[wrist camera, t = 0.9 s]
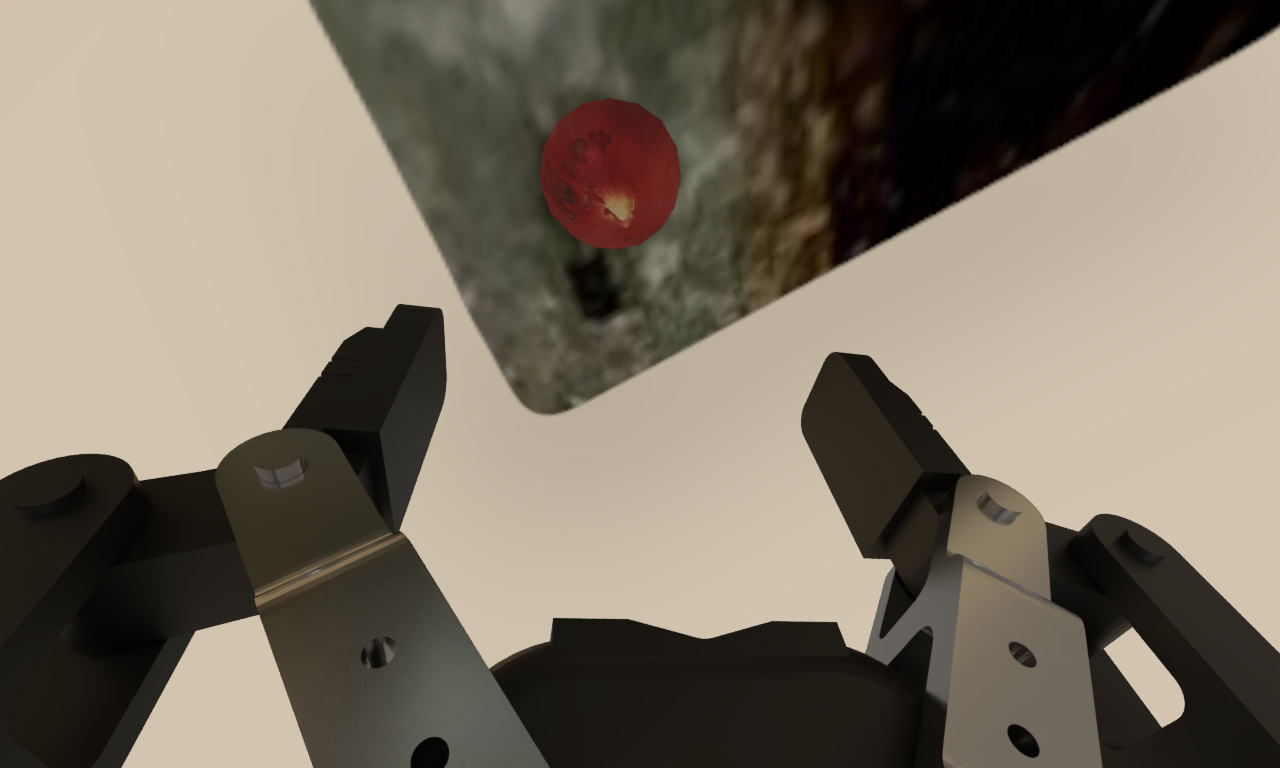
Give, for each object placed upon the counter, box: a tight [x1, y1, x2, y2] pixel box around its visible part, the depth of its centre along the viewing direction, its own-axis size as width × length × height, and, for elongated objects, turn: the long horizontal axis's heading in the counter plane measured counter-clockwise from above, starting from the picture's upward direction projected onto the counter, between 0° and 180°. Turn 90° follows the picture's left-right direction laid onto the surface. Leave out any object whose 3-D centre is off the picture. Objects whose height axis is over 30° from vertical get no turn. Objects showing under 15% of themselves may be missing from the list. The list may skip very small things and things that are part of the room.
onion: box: [540, 98, 681, 249], centre depth 22 cm, size 6×6×8 cm
